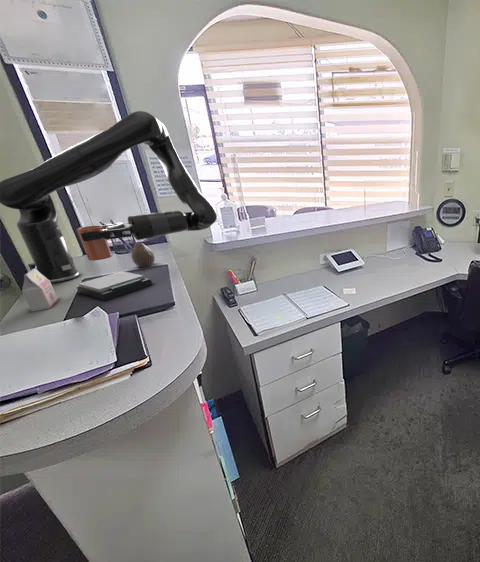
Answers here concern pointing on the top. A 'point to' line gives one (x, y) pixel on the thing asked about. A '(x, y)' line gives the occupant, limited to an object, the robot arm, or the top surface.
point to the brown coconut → (142, 255)
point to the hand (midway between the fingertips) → (80, 236)
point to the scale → (113, 285)
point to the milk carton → (38, 291)
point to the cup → (95, 244)
